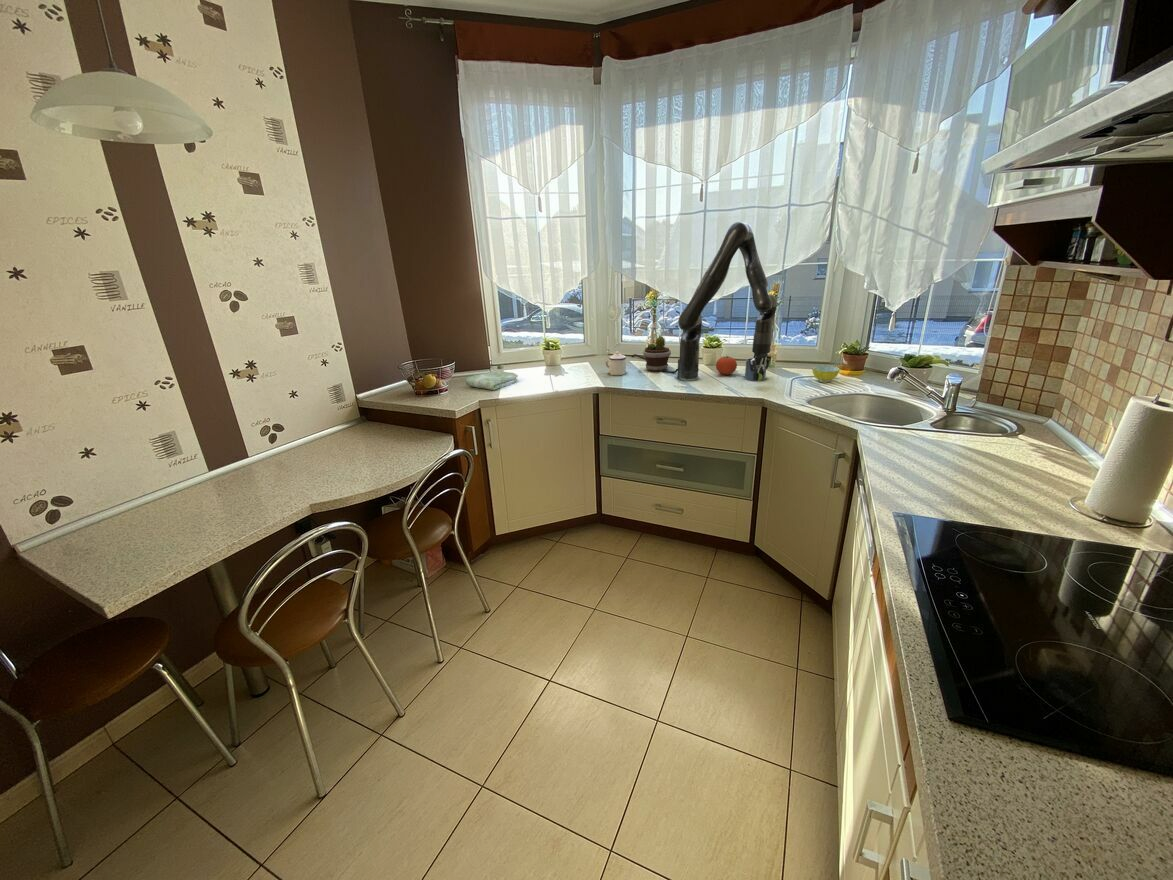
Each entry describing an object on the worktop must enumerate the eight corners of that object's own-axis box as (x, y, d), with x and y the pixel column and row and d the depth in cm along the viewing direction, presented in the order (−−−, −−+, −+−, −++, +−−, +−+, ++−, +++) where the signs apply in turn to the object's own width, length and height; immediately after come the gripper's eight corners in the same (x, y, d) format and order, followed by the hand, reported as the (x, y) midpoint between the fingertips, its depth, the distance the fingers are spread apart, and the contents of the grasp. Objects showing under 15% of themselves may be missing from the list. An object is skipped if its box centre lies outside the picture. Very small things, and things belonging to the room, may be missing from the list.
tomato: (739, 373, 242) (741, 354, 239) (730, 377, 235) (732, 357, 231) (720, 371, 249) (721, 352, 245) (711, 375, 241) (712, 355, 238)
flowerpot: (638, 368, 262) (638, 332, 255) (663, 365, 266) (664, 329, 259) (649, 374, 249) (649, 336, 242) (675, 371, 253) (676, 333, 246)
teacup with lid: (629, 372, 255) (629, 350, 251) (620, 376, 248) (620, 354, 244) (610, 370, 262) (609, 349, 257) (601, 374, 255) (600, 352, 251)
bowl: (811, 383, 218) (813, 370, 216) (810, 377, 228) (811, 365, 226) (839, 385, 215) (841, 371, 212) (836, 378, 225) (838, 365, 222)
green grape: (752, 380, 217) (753, 373, 216) (757, 379, 219) (757, 371, 218) (759, 381, 215) (759, 374, 214) (763, 380, 217) (764, 373, 216)
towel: (519, 381, 249) (519, 371, 247) (493, 391, 232) (491, 381, 230) (493, 378, 257) (492, 368, 256) (465, 388, 241) (464, 378, 239)
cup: (740, 378, 233) (742, 360, 230) (752, 375, 238) (753, 357, 235) (757, 381, 226) (759, 363, 223) (769, 378, 231) (771, 359, 228)
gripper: (764, 338, 217) (760, 375, 224) (745, 342, 209) (741, 381, 216) (778, 340, 212) (774, 378, 218) (760, 345, 204) (756, 384, 210)
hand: (758, 379), depth 217 cm, fingers closed on green grape, 3 cm apart
